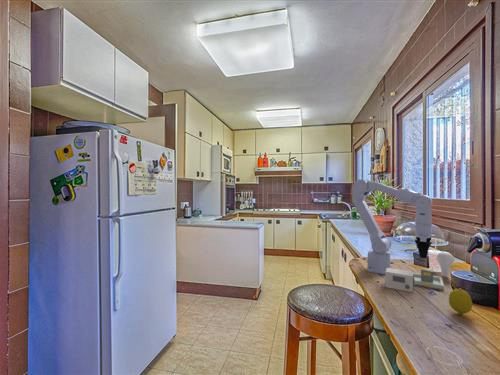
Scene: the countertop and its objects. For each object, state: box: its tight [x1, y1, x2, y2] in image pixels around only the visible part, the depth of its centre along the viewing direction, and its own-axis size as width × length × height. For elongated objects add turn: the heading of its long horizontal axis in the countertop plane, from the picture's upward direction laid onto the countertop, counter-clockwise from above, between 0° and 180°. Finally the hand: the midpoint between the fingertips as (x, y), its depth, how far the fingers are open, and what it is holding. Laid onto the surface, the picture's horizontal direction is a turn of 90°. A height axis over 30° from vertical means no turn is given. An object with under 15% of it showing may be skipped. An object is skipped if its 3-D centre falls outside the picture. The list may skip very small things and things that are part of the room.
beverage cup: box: [428, 240, 443, 273], centre depth 118 cm, size 6×6×14 cm
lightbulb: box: [437, 251, 455, 278], centre depth 109 cm, size 6×6×11 cm
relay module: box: [420, 267, 434, 283], centre depth 102 cm, size 4×4×5 cm
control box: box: [385, 267, 415, 293], centre depth 98 cm, size 10×6×6 cm
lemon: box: [448, 287, 473, 315], centre depth 77 cm, size 6×6×8 cm
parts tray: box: [413, 272, 445, 291], centre depth 102 cm, size 11×11×2 cm
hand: (423, 255), depth 105 cm, fingers open, 7 cm apart
